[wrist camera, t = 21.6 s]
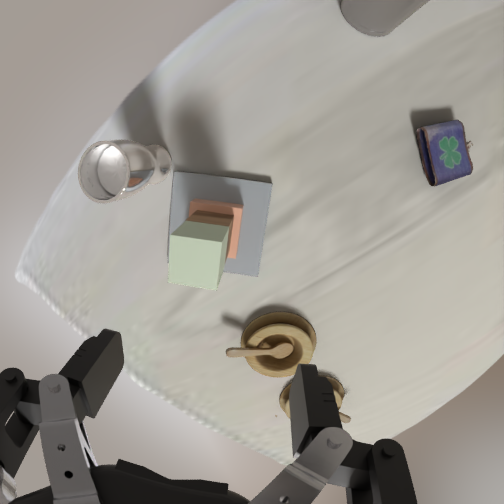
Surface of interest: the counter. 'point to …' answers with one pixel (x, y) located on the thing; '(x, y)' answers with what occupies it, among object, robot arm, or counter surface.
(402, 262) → the counter surface
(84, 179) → the beer glass
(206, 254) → the block
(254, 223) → the plate
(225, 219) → the block
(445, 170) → the purple clover wallet
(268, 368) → the tableware set
